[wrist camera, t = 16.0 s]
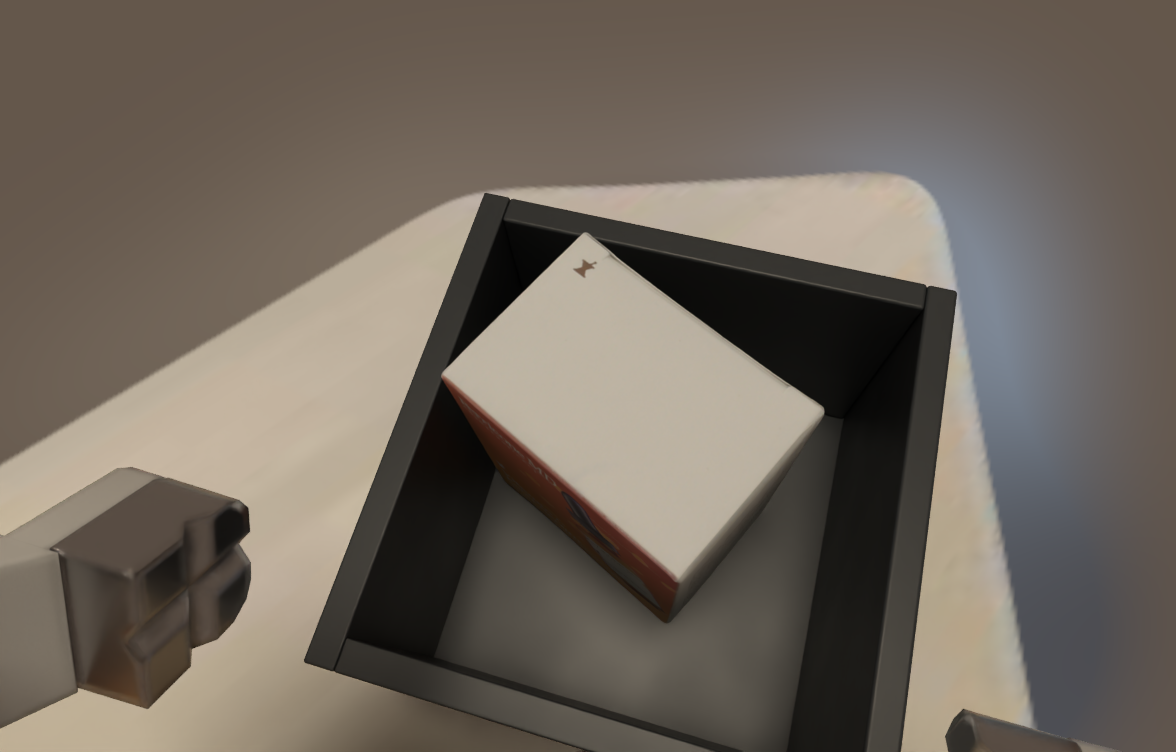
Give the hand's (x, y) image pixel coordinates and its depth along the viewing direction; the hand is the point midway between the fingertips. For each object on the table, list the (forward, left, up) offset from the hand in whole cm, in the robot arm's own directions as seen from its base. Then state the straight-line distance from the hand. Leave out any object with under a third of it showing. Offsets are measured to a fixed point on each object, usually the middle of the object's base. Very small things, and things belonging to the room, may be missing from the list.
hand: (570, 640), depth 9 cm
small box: (+1, -6, -19) cm, 20 cm away
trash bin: (0, -5, -20) cm, 21 cm away
